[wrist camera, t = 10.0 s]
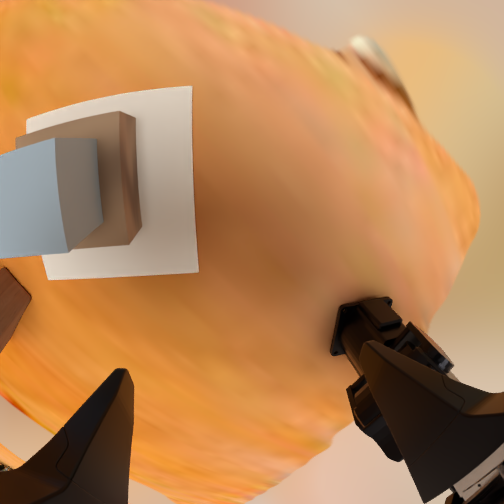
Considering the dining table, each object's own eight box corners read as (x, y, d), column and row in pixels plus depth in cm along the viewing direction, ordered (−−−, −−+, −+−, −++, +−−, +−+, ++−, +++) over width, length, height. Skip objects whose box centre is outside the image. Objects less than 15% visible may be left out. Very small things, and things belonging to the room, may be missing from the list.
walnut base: (142, 226, 19) (129, 245, 15) (54, 235, 18) (30, 253, 14) (135, 117, 16) (119, 110, 12) (44, 137, 15) (15, 138, 11)
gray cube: (103, 222, 14) (68, 252, 10) (40, 229, 14) (-2, 258, 9) (96, 138, 13) (54, 137, 8) (32, 153, 12) (-17, 162, 7)
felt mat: (198, 270, 21) (198, 272, 21) (50, 278, 19) (48, 280, 19) (192, 86, 16) (192, 85, 16) (29, 119, 14) (26, 119, 14)
